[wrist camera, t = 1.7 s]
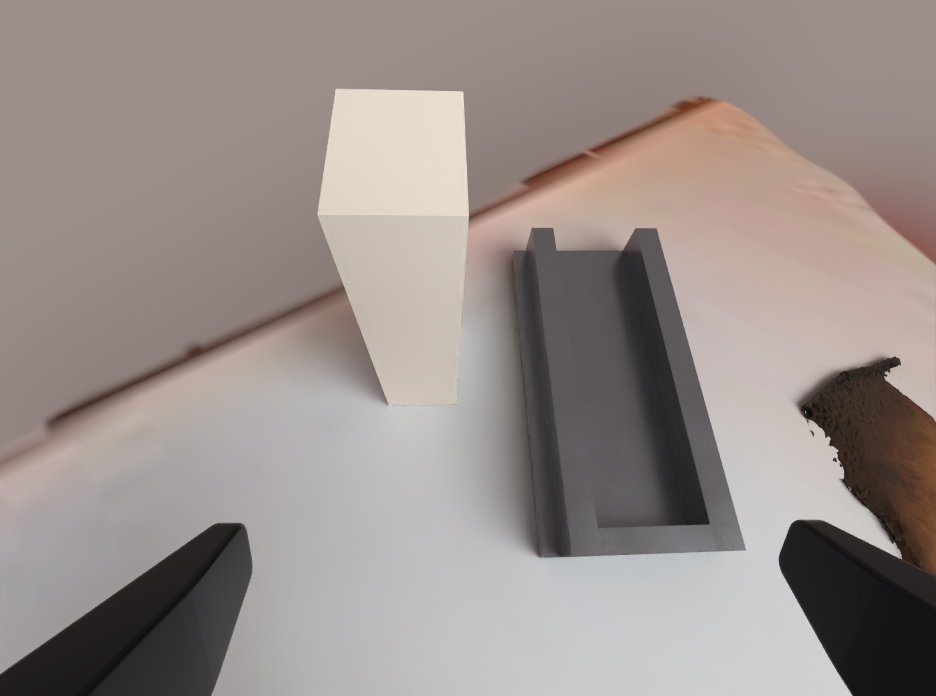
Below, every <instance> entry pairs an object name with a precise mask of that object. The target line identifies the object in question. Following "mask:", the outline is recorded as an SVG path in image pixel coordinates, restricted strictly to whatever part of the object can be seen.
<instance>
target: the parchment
mask: <svg viewBox="0 0 936 696" xmlns="http://www.w3.org/2000/svg"><path fill="white" fill-rule="evenodd" d="M898 365H901V362H900V359H899V358H896V357H893V358H890V359H889V358H888V359H887V360H885V361H881V362H880V363H879V364H877V365H874V366H873V367H867V368H864V367H860V368H858V369H857V370H853V371H844V372H843V373H841V376H840V377H838V378H835V379H834V380H833V381H832V382H830V383H829V384H828V385H827V386H826V387H825V388H824V389H822V390H821V391H820V392H819V394H817V395H816V396H815V397H814V398H813V399H812V400H811V401H810V402H808V403H807V404H806V405H804V406H802V409H803V413H804V414H805V410H806V414H805V416H806V418H807V419H808V420H812V421H814V422H815V423H816V424H817V425H818V426H819V427H820V428H822V429H823V430H824V432H825V438H827V437H828V436H829V437H830V438H831V440H830V444H829V445H830V446H834V447H835V448H836V449H837V450H839V451H838V452H837V454H838V457H837V458H838V459H839V461H840V462H841V464H842V465H843V469H844V479H843V481H844V482H846V484H847V485H848V487H851V488H852V491H853V492H854V493H855V494H856V495H857V496H858V498H859V499H861V500H863V502H864V503H865V504H866V505H867V506H868V508H869V509H871V510H873V511H874V513H875V514H876V515H878V516H879V517H880V518H881V519H882V520H883V521H885V522H886V525H887V527H888V528H889V529H890V531H891V533H892V534H893V536H894V537H895V538H896V539H895V540H893V541H894V542H895V543H896V545H897V547H898V549H899V550H900V551H901V554H902V560H903V561H906V562H908V563H910V564H912V565H914V566H916V567H918V568H920V569H922V570H924V571H926V572H928V573H930V574H932V575H934V576H936V422H935V420H934V419H933V417H932V416H931V415H929V414H928V413H927V412H925V411H924V410H923V409H922V408H920V407H919V406H918V405H917V404H915V403H914V402H913V401H912V400H911V399H909V398H908V397H907V396H905V395H903V394H902V393H901V392H900V391H899V390H898V389H896V388H895V387H894V386H892V385H891V384H890V383H889V382H887V381H886V380H885V378H884V376H886V377H887V375H886V374H884V373H885V371H888V372H889V373H890V368H893V367H897V366H898ZM808 422H809V421H808ZM812 433H813V432H812ZM813 437H814V433H813ZM833 461H835V462H837V460H836V458H835V459H834V458H833ZM841 464H840V467H842V465H841ZM841 480H842V479H841ZM893 541H892V542H893ZM892 544H893V543H892Z"/></svg>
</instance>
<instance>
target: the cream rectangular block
mask: <svg viewBox="0 0 936 696" xmlns="http://www.w3.org/2000/svg"><path fill="white" fill-rule="evenodd" d="M464 121H465V120H464V98H463V92H460V91H459V92H458V91H412V90H364V89H363V90H362V89H336V93H335V100H334V106H333V113H332V120H331V127H330V133H329V140H328V147H327V154H326V160H325V167H324V174H323V181H322V187H321V194H320V201H319V208H318V218H319V220H320V223H321V226H322V229H323V231H324V234H325V237H326V239H327V242H328V245H329V247H330V250H331V253H332V255H333V258H334V261H335V263H336V266H337V269H338V271H339V274H340V277H341V280H342V282H343V285H344V288H345V290H346V293H347V296H348V298H349V301H350V304H351V306H352V309H353V312H354V314H355V317H356V320H357V322H358V325H359V328H360V330H361V333H362V336H363V338H364V341H365V344H366V346H367V349H368V352H369V354H370V357H371V360H372V362H373V365H374V368H375V370H376V373H377V376H378V378H379V381H380V384H381V386H382V389H383V392H384V394H385V397H386V400H387V402H388V405H389V406H404V405H456V403H457V387H458V372H459V357H460V342H461V326H462V311H463V296H464V281H465V265H466V250H467V235H468V219H469V211H468V188H467V165H466V143H465V122H464Z"/></svg>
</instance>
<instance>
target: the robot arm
mask: <svg viewBox="0 0 936 696" xmlns="http://www.w3.org/2000/svg"><path fill="white" fill-rule="evenodd" d="M779 566H780V569H781V572H782V574H783V576H784V578H785V579H786V581H787V583H788V585H789V587H790V588H791V590H792V592H793V594H794V596H795V597H796V599H797V601H798V603H799V605H800V606H801V608H802V610H803V612H804V614H805V615H806V617H807V619H808V621H809V623H810V624H811V626H812V628H813V630H814V632H815V633H816V635H817V637H818V639H819V641H820V642H821V644H822V646H823V648H824V650H825V651H826V653H827V655H828V657H829V658H830V660H831V662H832V664H833V665H834V667H835V669H836V670H837V672H838V674H839V675H840V677H841V678H842V680H843V682H844V683H845V685H846V686H847V688H848V689H849V691H850V692H851V694H852V696H936V576H934V575H932V574H930V573H928V572H926V571H924V570H922V569H920V568H918V567H916V566H914V565H912V564H910V563H908V562H906V561H903V560H901V559H899V558H897V557H895V556H893V555H891V554H889V553H887V552H885V551H883V550H881V549H879V548H877V547H875V546H873V545H871V544H869V543H867V542H865V541H863V540H861V539H859V538H857V537H855V536H853V535H851V534H849V533H847V532H845V531H843V530H841V529H839V528H837V527H835V526H833V525H831V524H829V523H827V522H825V521H821V520H796V521H794V522H793V523H792V524H791V526H790V528H789V530H788V533H787V536H786V538H785V541H784V544H783V547H782V549H781V552H780V555H779ZM251 574H252V557H251V552H250V546H249V540H248V535H247V530H246V527H245V526H244V525H243V524H241V523H217V524H214V525H213V526H211V527H209V528H208V529H206V530H205V531H204V532H202V533H201V534H199V535H198V536H196V537H195V538H194V539H192V540H191V541H189V542H188V543H186V544H185V545H184V546H182V547H181V548H179V549H178V550H177V551H175V552H174V553H172V554H171V555H169V556H168V557H167V558H165V559H164V560H162V561H161V562H159V563H158V564H157V565H155V566H154V567H152V568H151V569H149V570H148V571H147V572H145V573H144V574H142V575H141V576H139V577H138V578H137V579H135V580H134V581H132V582H131V583H129V584H128V585H127V586H125V587H124V588H122V589H121V590H119V591H118V592H117V593H115V594H114V595H112V596H111V597H109V598H108V599H107V600H105V601H104V602H102V603H101V604H100V605H98V606H97V607H95V608H94V609H92V610H91V611H90V612H88V613H87V614H85V615H84V616H82V617H81V618H80V619H78V620H77V621H75V622H74V623H72V624H71V625H70V626H68V627H67V628H65V629H64V630H62V631H61V632H60V633H58V634H57V635H55V636H54V637H52V638H51V639H50V640H48V641H47V642H45V643H44V644H42V645H41V646H40V647H38V648H37V649H35V650H34V651H33V652H31V653H30V654H28V655H27V656H25V657H24V658H23V659H21V660H20V661H18V662H17V663H15V664H14V665H13V666H11V667H10V668H8V669H7V670H5V671H4V672H3V673H1V674H0V696H211V695H212V692H213V690H214V687H215V684H216V682H217V679H218V676H219V673H220V670H221V667H222V664H223V661H224V658H225V655H226V652H227V649H228V646H229V643H230V640H231V637H232V634H233V631H234V628H235V625H236V622H237V619H238V615H239V612H240V609H241V606H242V603H243V600H244V597H245V594H246V591H247V588H248V585H249V582H250V579H251Z"/></svg>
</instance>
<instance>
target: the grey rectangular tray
mask: <svg viewBox="0 0 936 696" xmlns="http://www.w3.org/2000/svg"><path fill="white" fill-rule="evenodd" d="M512 267H513V277H514V288H515V299H516V309H517V320H518V331H519V341H520V352H521V363H522V373H523V384H524V395H525V405H526V416H527V427H528V437H529V448H530V459H531V469H532V480H533V490H534V501H535V512H536V522H537V533H538V544H539V554H540V558H544V557H577V556H604V555H630V554H657V553H684V552H710V551H737V550H746V549H745V545H744V541H743V538H742V534H741V531H740V527H739V523H738V520H737V516H736V513H735V509H734V506H733V502H732V498H731V495H730V491H729V488H728V484H727V480H726V477H725V473H724V470H723V466H722V462H721V459H720V455H719V452H718V448H717V444H716V441H715V437H714V434H713V430H712V426H711V423H710V419H709V416H708V412H707V409H706V405H705V401H704V398H703V394H702V391H701V387H700V383H699V380H698V376H697V373H696V369H695V365H694V362H693V358H692V355H691V351H690V347H689V344H688V340H687V337H686V333H685V330H684V326H683V322H682V319H681V315H680V312H679V308H678V304H677V301H676V297H675V294H674V290H673V286H672V283H671V279H670V276H669V272H668V268H667V265H666V261H665V258H664V254H663V250H662V247H661V243H660V240H659V236H658V233H657V229H651V228H636V229H635V230H634V232H633V234H632V236H631V237H630V239H629V241H628V243H627V244H626V246H625V248H624V250H623V251H556V244H555V237H554V231H553V228H532V229H531V233H530V237H529V241H528V244H527V248H526V251H514V254H513V259H512Z"/></svg>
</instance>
